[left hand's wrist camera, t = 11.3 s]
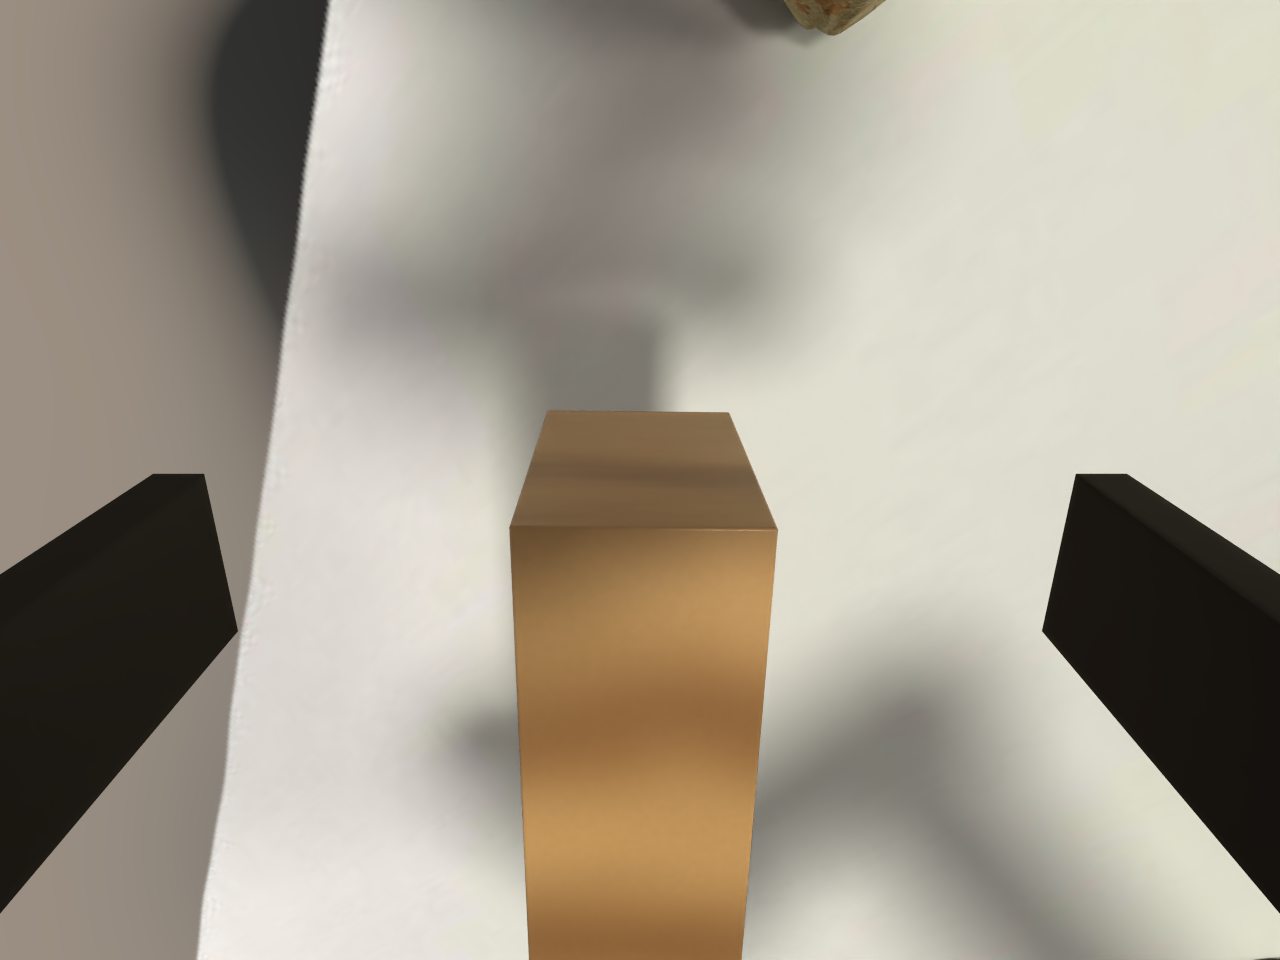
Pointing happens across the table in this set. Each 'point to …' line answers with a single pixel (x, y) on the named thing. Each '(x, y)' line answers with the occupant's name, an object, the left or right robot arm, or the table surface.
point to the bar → (639, 682)
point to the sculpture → (830, 13)
